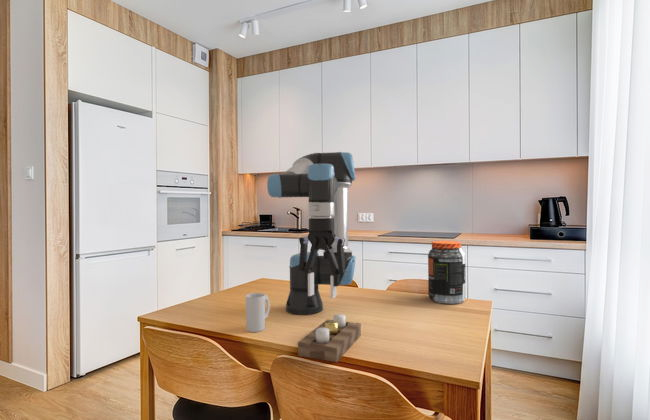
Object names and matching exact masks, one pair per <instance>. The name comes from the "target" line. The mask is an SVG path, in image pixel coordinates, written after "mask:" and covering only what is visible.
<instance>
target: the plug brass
mask: <svg viewBox="0 0 650 420" xmlns="http://www.w3.org/2000/svg"><path fill="white" fill-rule="evenodd" d="M325 321H326V320H325ZM325 321H324V322H325ZM325 328H328V329H329V335H335V336H336V335H337V334H338V322H337V321H326V322H325Z"/></svg>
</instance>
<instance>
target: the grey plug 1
mask: <svg viewBox="0 0 650 420" xmlns="http://www.w3.org/2000/svg"><path fill="white" fill-rule="evenodd" d="M316 328H317V327H316ZM316 328H315V329H316ZM316 342H318V343H324V344H327V343H328V342H329V329H328V328H317V329H316Z"/></svg>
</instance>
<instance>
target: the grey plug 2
mask: <svg viewBox="0 0 650 420" xmlns="http://www.w3.org/2000/svg"><path fill="white" fill-rule="evenodd" d="M332 318H333V319H332V320H333V321H337V322H338V328H345V327H346V322H347V321H346V319H347V317H346V315H345V314H343V313H342V314H341V313H336V314H334V315H333V317H332Z"/></svg>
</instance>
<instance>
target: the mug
mask: <svg viewBox="0 0 650 420" xmlns="http://www.w3.org/2000/svg"><path fill="white" fill-rule="evenodd" d="M270 304H271V303H270V299H269V295H268V294H265V293H263V292H252V293H248V294H245V317H246V318H245V320H246V321H245V322H246V331H247V332H250V333H260V332H263V331H265V329H266V328H265V327H266V319H267V318H268V317H269V314H270V309H271V308H270V307H271V305H270Z"/></svg>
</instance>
